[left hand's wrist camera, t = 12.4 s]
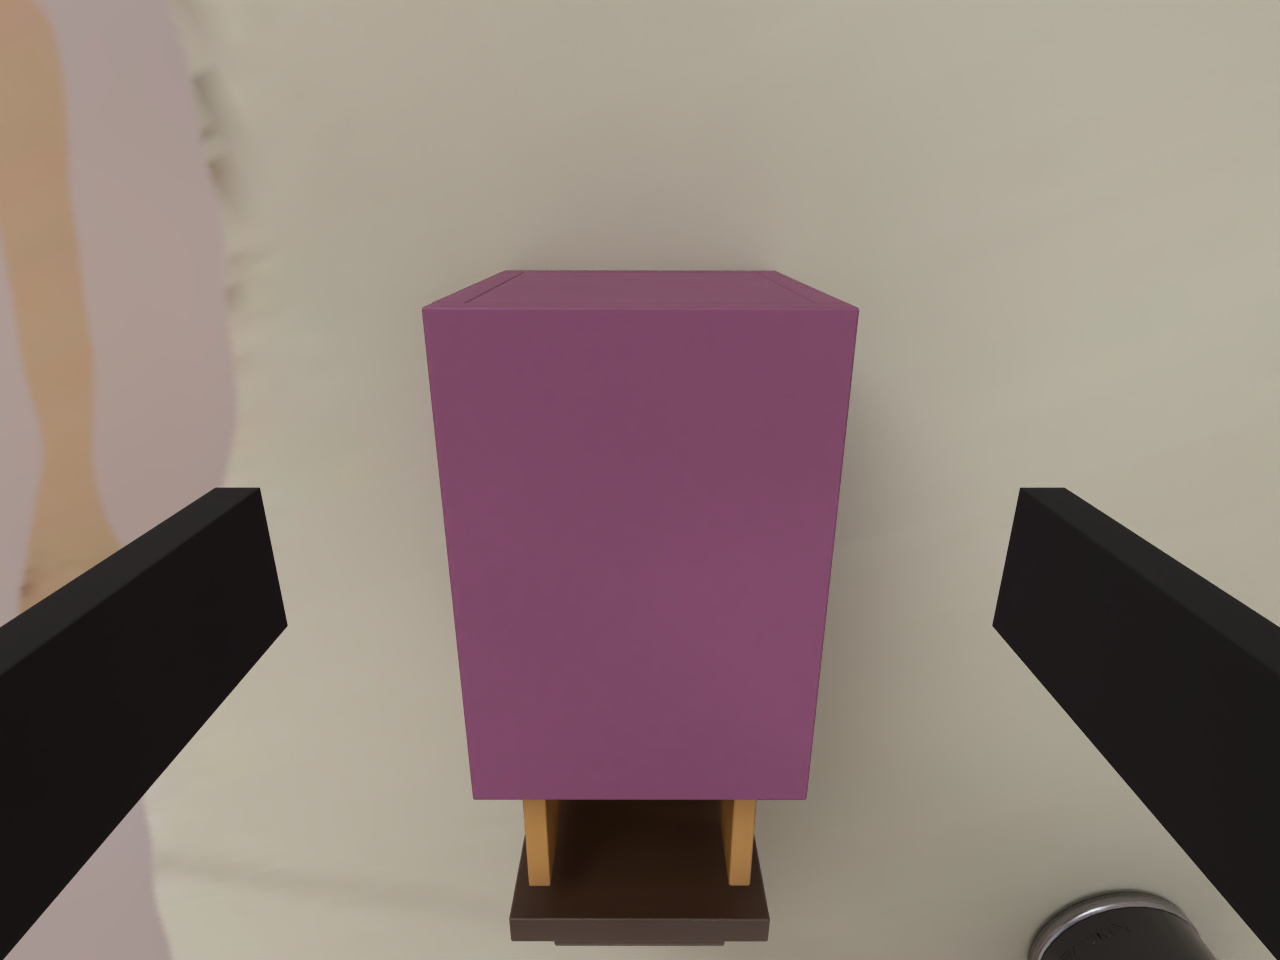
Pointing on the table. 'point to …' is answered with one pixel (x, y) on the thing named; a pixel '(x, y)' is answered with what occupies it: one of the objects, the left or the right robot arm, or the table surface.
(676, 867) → the drawer
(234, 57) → the table surface
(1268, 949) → the left robot arm
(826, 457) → the cabinet
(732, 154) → the table surface
